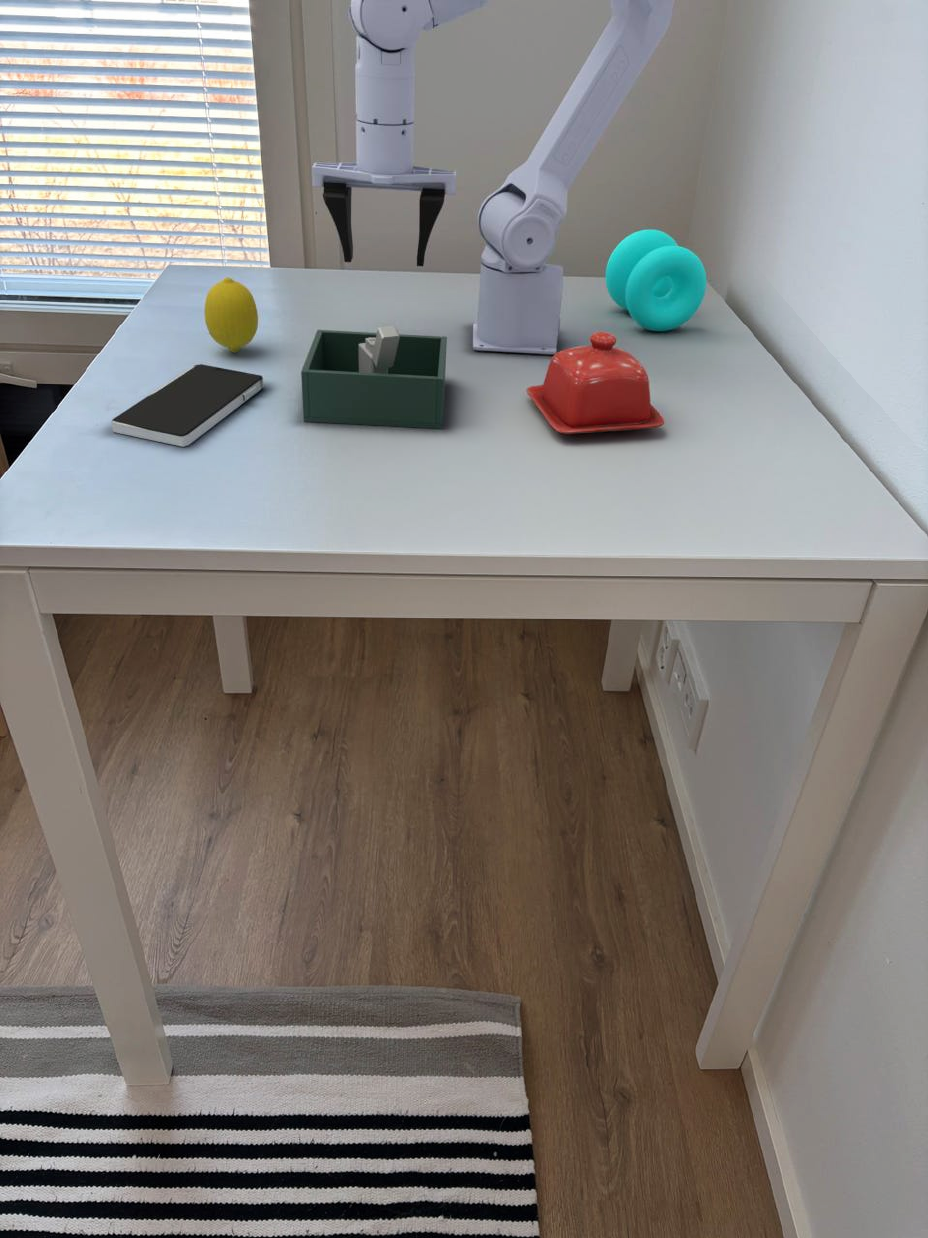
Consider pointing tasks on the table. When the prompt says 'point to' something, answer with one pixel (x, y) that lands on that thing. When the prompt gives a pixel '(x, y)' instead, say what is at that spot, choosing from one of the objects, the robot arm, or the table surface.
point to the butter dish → (595, 390)
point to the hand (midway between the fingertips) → (384, 261)
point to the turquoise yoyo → (655, 280)
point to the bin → (374, 382)
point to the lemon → (231, 314)
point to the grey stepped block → (379, 351)
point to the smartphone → (188, 405)
